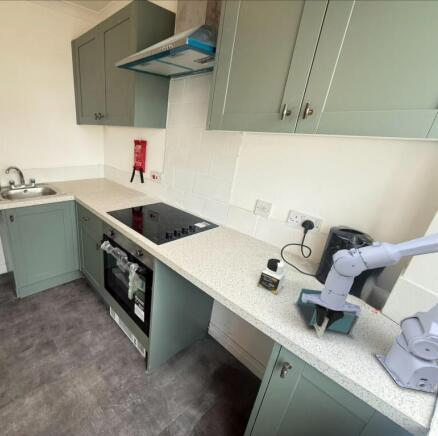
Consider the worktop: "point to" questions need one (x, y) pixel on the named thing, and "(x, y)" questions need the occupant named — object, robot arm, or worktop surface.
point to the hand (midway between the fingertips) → (321, 325)
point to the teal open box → (309, 309)
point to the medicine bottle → (273, 275)
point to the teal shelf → (338, 325)
